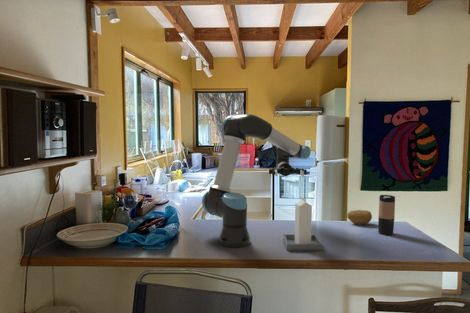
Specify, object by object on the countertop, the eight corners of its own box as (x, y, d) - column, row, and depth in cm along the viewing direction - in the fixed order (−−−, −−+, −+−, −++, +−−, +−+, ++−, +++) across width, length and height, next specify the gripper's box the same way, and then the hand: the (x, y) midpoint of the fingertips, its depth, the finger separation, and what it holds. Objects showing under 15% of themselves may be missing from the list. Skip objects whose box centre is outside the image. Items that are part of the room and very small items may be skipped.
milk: (298, 246, 149) (299, 199, 147) (294, 242, 155) (295, 196, 153) (311, 245, 149) (312, 199, 148) (306, 241, 155) (307, 196, 154)
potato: (344, 221, 193) (344, 208, 193) (368, 221, 193) (368, 208, 192) (349, 226, 183) (349, 212, 183) (374, 226, 183) (375, 212, 182)
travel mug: (390, 231, 174) (392, 194, 173) (396, 235, 167) (397, 197, 165) (375, 230, 175) (377, 194, 173) (380, 235, 167) (382, 197, 166)
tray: (286, 250, 145) (287, 244, 145) (283, 240, 159) (283, 234, 159) (322, 251, 145) (322, 244, 145) (315, 240, 159) (315, 234, 159)
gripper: (306, 175, 186) (314, 181, 165) (263, 175, 187) (265, 180, 166) (306, 162, 186) (314, 166, 165) (263, 162, 187) (265, 166, 165)
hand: (289, 173), depth 165 cm, fingers open, 13 cm apart
